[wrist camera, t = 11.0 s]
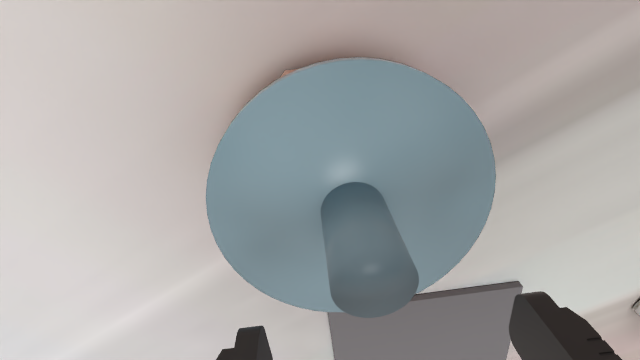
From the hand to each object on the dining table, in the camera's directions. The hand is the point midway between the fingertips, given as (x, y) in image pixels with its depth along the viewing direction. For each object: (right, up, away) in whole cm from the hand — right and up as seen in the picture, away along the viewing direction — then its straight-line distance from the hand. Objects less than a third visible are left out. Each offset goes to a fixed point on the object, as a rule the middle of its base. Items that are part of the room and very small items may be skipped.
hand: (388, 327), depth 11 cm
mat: (+7, -13, +21) cm, 26 cm away
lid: (-1, +4, +7) cm, 8 cm away
